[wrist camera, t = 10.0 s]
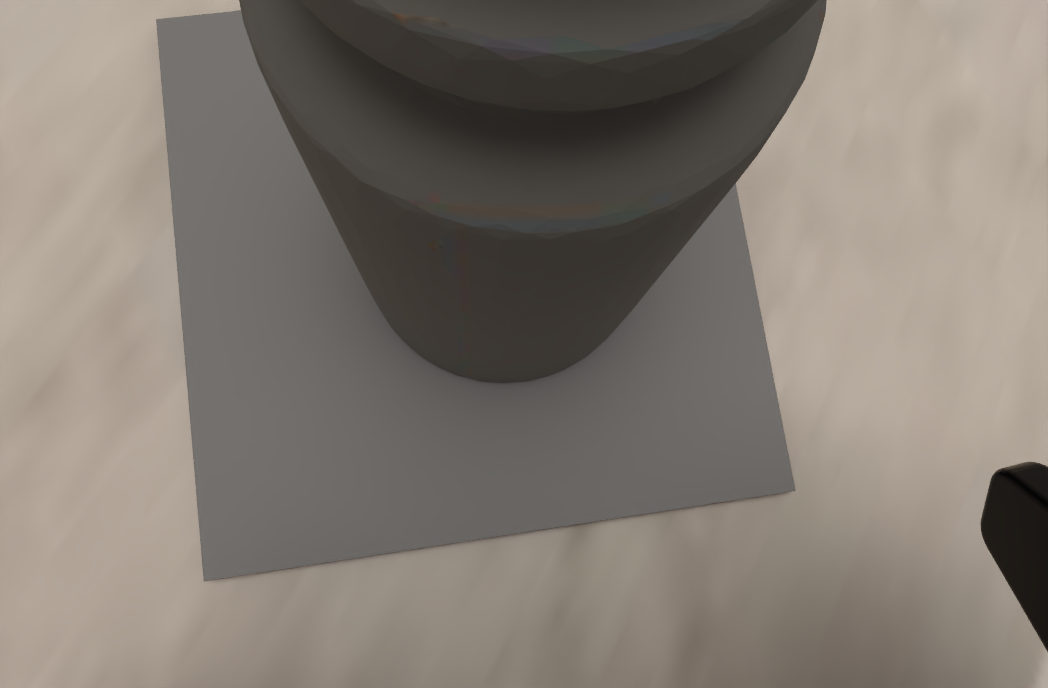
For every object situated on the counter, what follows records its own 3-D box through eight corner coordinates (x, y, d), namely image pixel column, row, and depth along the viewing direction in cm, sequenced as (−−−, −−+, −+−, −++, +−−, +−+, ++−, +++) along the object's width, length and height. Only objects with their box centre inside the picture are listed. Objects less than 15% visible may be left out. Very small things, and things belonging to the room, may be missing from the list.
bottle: (639, 125, 20) (1141, -1028, 5) (640, 389, 19) (1283, -47, 4) (371, 114, 19) (32, -1147, 5) (357, 382, 18) (-141, -120, 4)
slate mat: (788, 491, 19) (795, 491, 18) (209, 579, 18) (203, 581, 17) (688, -27, 21) (692, -37, 20) (162, 28, 20) (156, 19, 19)
